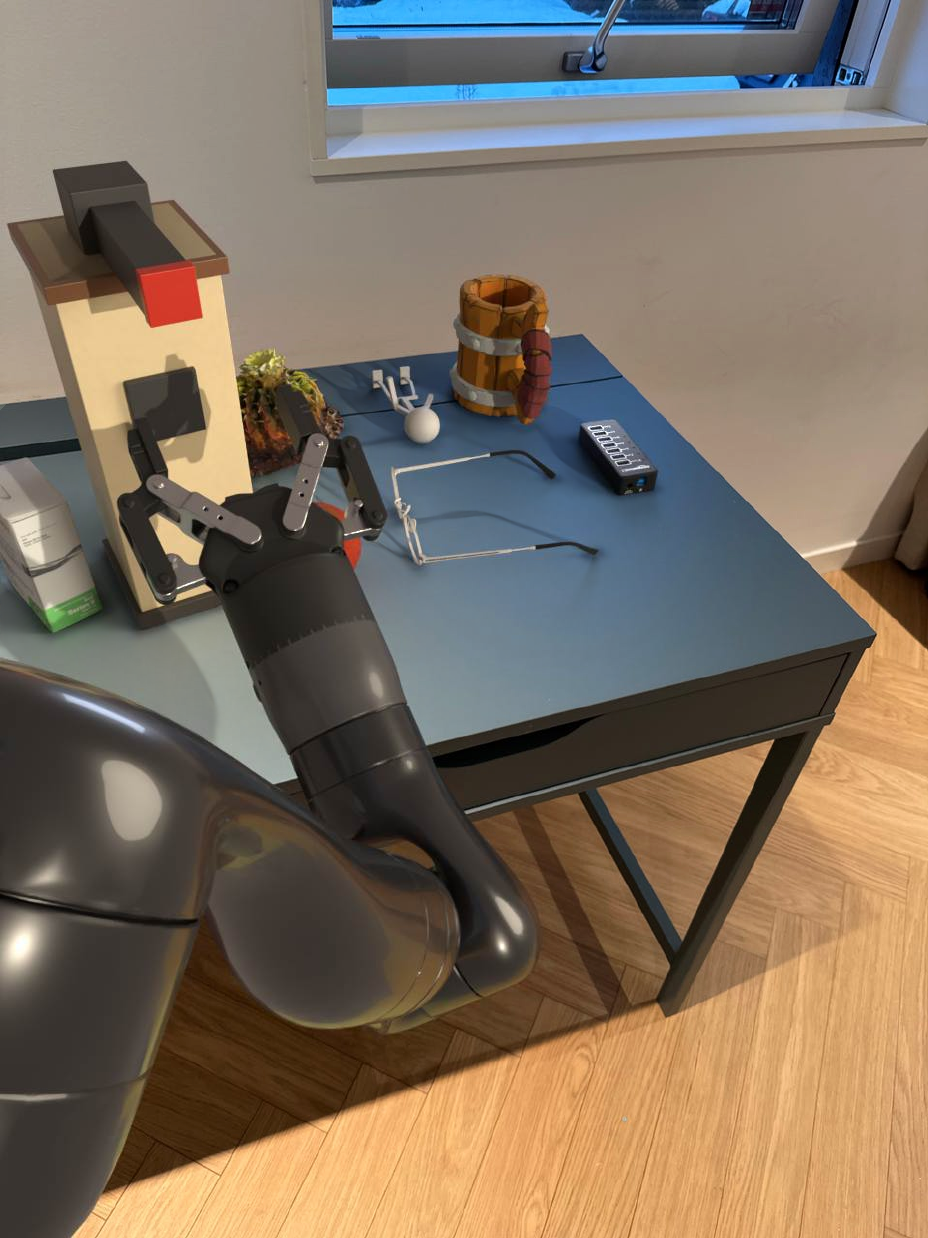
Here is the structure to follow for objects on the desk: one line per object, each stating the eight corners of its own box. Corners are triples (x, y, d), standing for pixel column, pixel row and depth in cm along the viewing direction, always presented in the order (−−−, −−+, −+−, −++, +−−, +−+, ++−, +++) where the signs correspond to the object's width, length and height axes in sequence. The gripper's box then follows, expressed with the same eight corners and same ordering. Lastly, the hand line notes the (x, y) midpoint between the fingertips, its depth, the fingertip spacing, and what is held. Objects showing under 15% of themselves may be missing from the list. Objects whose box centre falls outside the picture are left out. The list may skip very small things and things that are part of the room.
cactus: (248, 385, 108) (237, 306, 101) (369, 414, 104) (366, 335, 97) (162, 458, 96) (144, 374, 89) (295, 494, 92) (286, 410, 86)
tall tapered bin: (141, 631, 77) (43, 288, 57) (105, 551, 85) (6, 222, 64) (274, 588, 82) (228, 256, 61) (228, 516, 89) (173, 199, 69)
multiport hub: (612, 435, 103) (615, 417, 101) (655, 489, 96) (659, 471, 94) (576, 440, 102) (579, 423, 100) (617, 496, 94) (621, 477, 93)
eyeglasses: (379, 490, 93) (378, 449, 90) (550, 470, 97) (555, 430, 94) (412, 591, 82) (412, 548, 79) (603, 564, 86) (611, 522, 83)
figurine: (417, 340, 107) (458, 393, 96) (418, 389, 111) (457, 444, 100) (366, 346, 106) (402, 400, 95) (369, 395, 109) (403, 453, 98)
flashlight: (135, 331, 53) (119, 261, 50) (67, 231, 64) (51, 168, 61) (217, 315, 55) (207, 247, 52) (139, 220, 66) (126, 159, 63)
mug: (515, 365, 114) (525, 245, 104) (578, 431, 103) (597, 305, 93) (436, 380, 111) (439, 257, 100) (493, 449, 100) (503, 320, 90)
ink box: (106, 610, 79) (71, 500, 71) (50, 636, 76) (7, 524, 68) (63, 561, 83) (26, 452, 75) (9, 584, 81) (-35, 473, 73)
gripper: (447, 592, 49) (333, 344, 53) (192, 682, 44) (81, 399, 47) (415, 634, 56) (315, 413, 59) (190, 717, 51) (93, 468, 54)
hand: (212, 407), depth 53 cm, fingers open, 8 cm apart
